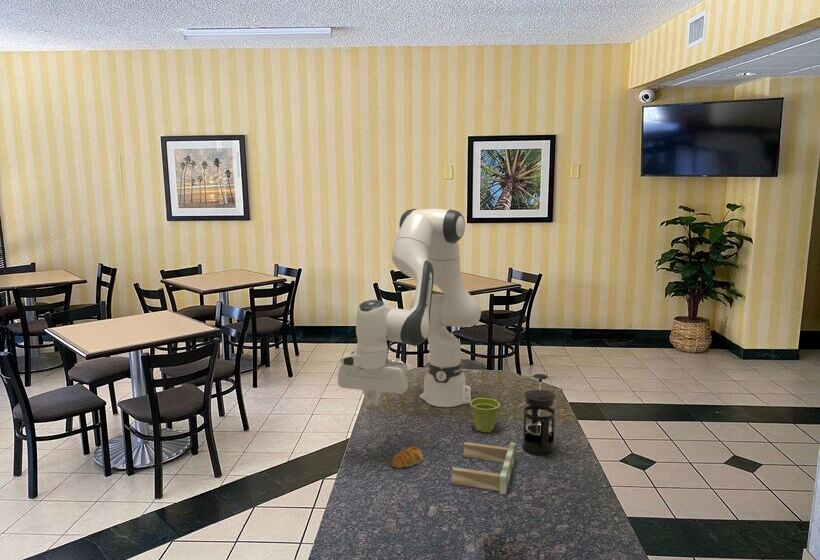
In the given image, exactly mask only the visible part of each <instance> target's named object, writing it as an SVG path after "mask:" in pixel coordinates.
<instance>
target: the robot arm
mask: <svg viewBox="0 0 820 560" xmlns="http://www.w3.org/2000/svg"><path fill="white" fill-rule="evenodd" d="M465 227H466V222H465V218H464V216H463V214H462V213H461V212H460V211H458V210H455V209H443V208H436V207H435V208H434V207H432V208H419V209H417V208H411V209H407V210H406V211H405V212H403V214H401V217H400V219H399V231H398V233H397V234H396V238H395V240H394V243H393V246H392V251H391V260H392V263H393V265H394V266H395V268H396V269H398V270H399V271H400V272H401V273H402V274H404V275H405V276H407V277H410V278H411V279H412V280H414V281H415V283H416V285H415V291H414V293H415V294H414V297H413V298H412V300H411V302H410V305H409V309H402V308H396V307H391V306H387V305H385V302H384V301H382V300H378V299H370V300H366V301H363V302H361V303H360V304H359V305H358V307H357V312H356V318H355V335H356V338H357V339H356V340H357V344H356V350H353V351H352V350H351V351H349V352H347V353H345V354H344V355H342V356H341V358H340V360H339V362H340V366H339V369H338V371H337V384H338V387H340V388H341V389H350V390H358V391H359V390H360V391H362V393H363V396H364V397H365V400H366V405H367V406H374V407H375V406H376V407H377V406H379V402H380V397H382V396H381V395H382V394H383V393H388V394H398V395H403V394H404V393H406V391H407V390H408V387H409V386H408V385H409V384H408V383H409V382H408V365H407V364H406V363H405V362H403V360H394V359H389V353H388V352H389V351H388V349H389V347H388V343H387V341H389V342H396V343H401V344H406V345H408V346H409V345H410V346H414V347H417V346H419V345H421V344H423V343H424V342H425V341H426V340H427V342H428V348H429V349H428V350H429V361H428V366H427V368H428V370H427V371H428V373H427V374H426V375H425V376H424V382H423V383H424V384H423V385H424V386H423V392H422V393H421V394H419V398H420V399H422V400H424V401H425V402H426V404H428V405H431V406H432V407H433V406H434V407H438V408H439V407H440V408H452V407H453V408H454V407H458V406H461V405H468V404H470V402H471V401H472V394H471V393H472V390H471V389H472V388H471V385H467V384H466V375H465V374H464V373H463V365H462V364H463V363H462V361H463V360H462V358H461V346H462V345H461V342H460V340H459V339H458V338H457V337H456V336H455V335H454V334H453V333H451V332H449V330H448V329H447V327H454V328H469V327H475V325H477V324H478V322H479V321H480V319H481V315H482V308H481V305H480V303H479V301H478V300H477V299H476V298H475V297H473V296H472V295H471V294H470V293H469V291H468V290H467V288H466V287H465V285H464V282H463V280H462V276H461V275H462V273H461V263H460V262H461V261H460V260H461V257H460V246H459V241H460V240H461V239H462V237H463V236H464V233H465V229H466V228H465ZM434 285H435V286H436V287H437V288H438V289H440V290H441V292H442V293H443V294H441V293H439V294H438V293H433V289H434ZM370 392H374V393H375V395H376V397H372V396H371V394H370Z"/></svg>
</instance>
